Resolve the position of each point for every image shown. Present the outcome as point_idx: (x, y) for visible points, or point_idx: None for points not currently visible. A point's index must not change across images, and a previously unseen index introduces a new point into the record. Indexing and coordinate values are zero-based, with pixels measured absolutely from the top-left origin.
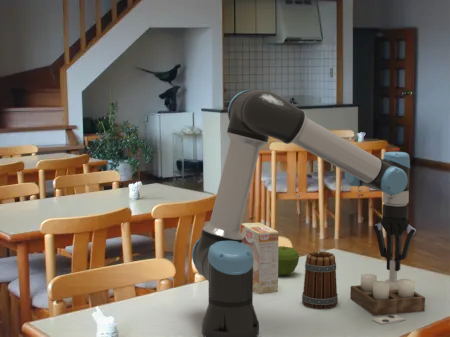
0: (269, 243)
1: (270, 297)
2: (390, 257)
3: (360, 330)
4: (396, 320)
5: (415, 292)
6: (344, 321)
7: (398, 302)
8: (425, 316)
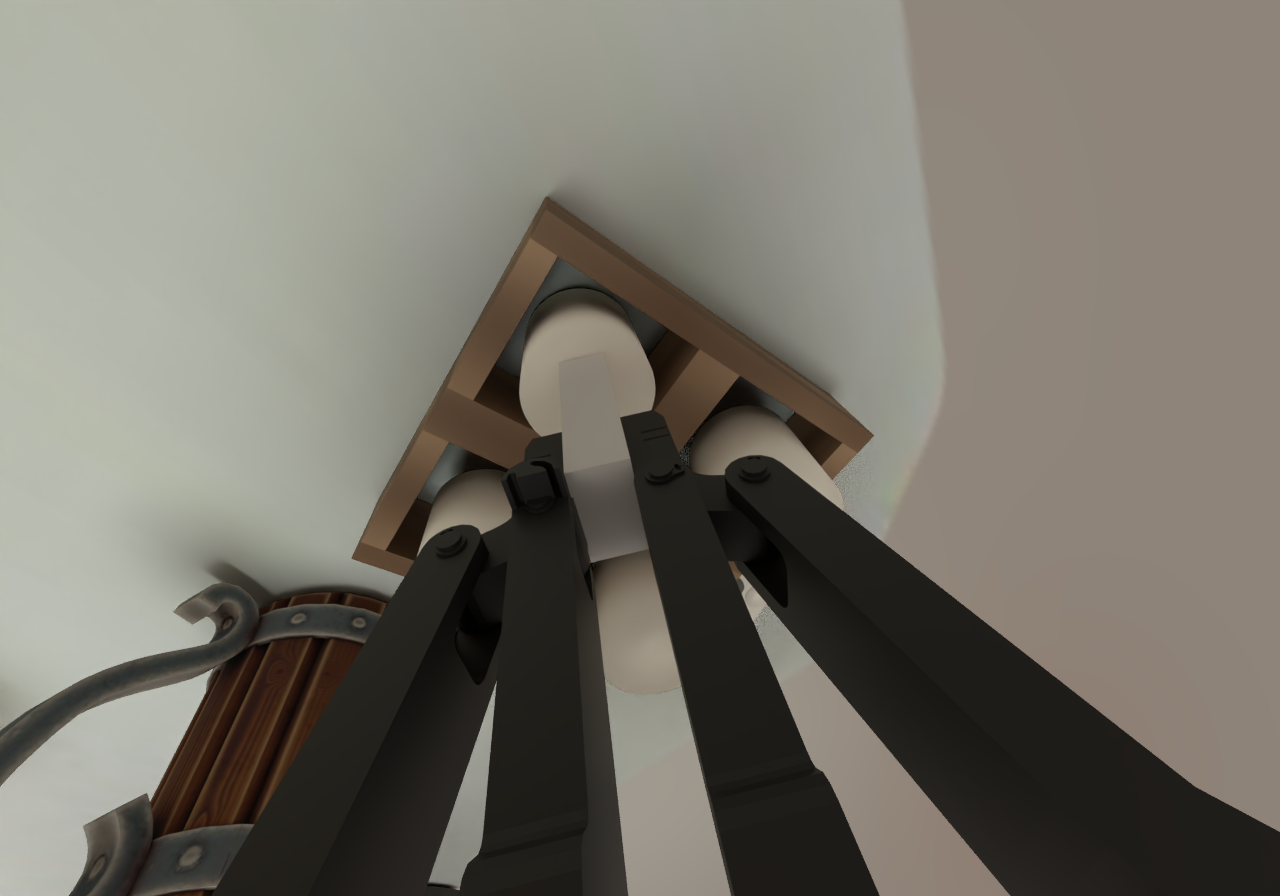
0: None
1: (91, 737)
2: (593, 578)
3: (689, 725)
4: (766, 604)
5: (786, 382)
6: None
7: None
8: (855, 463)
